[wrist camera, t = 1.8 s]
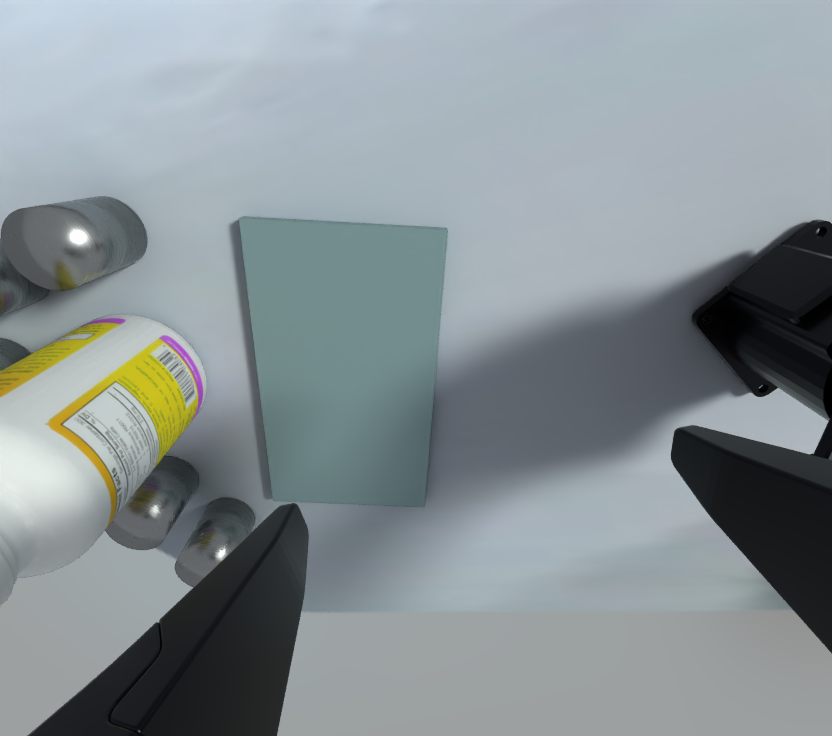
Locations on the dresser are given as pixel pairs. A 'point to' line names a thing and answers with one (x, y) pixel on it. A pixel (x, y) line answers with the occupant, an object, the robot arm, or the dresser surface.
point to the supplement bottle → (86, 435)
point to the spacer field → (3, 293)
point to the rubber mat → (345, 355)
